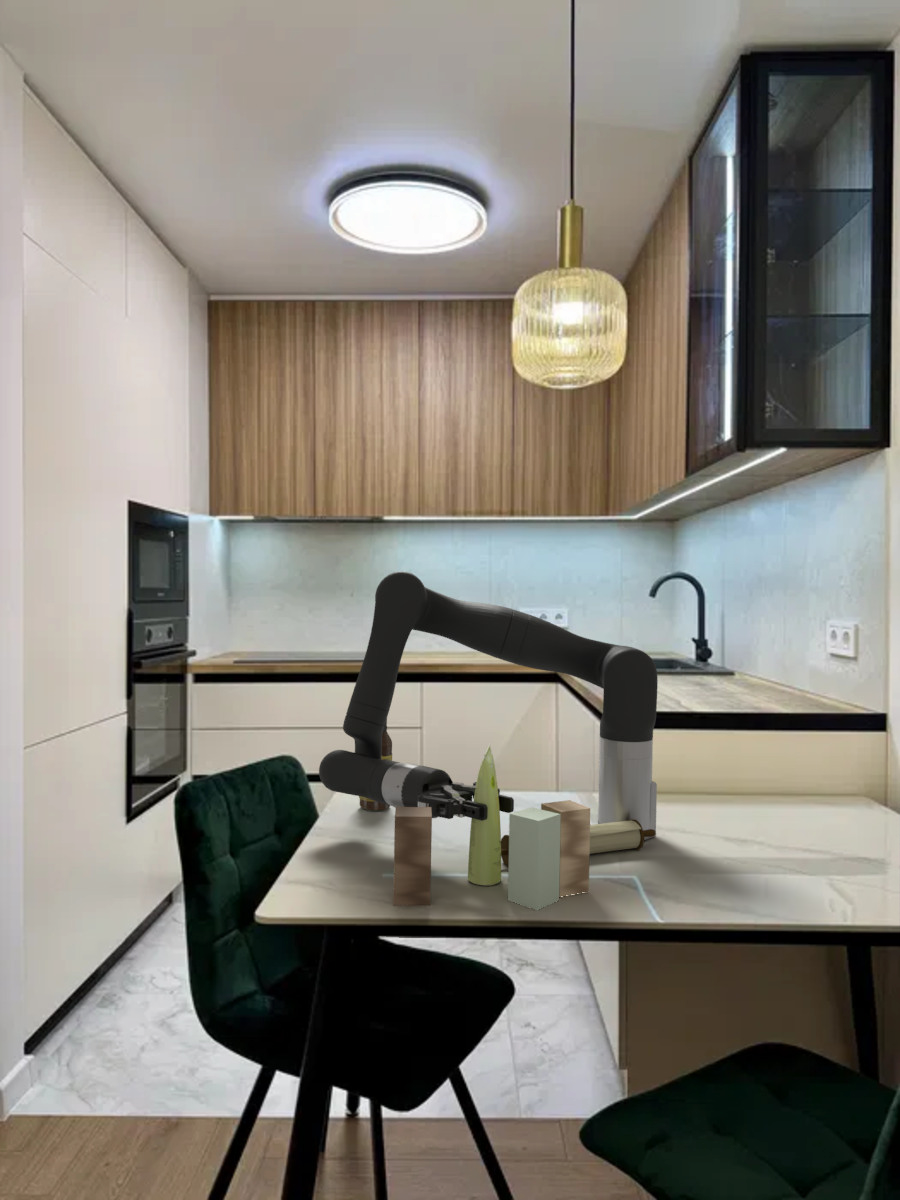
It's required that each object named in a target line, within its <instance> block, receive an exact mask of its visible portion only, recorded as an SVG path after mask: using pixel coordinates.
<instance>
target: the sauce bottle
mask: <svg viewBox="0 0 900 1200" xmlns="http://www.w3.org/2000/svg"><path fill="white" fill-rule="evenodd" d="M387 724H388V719H387V720H386V723H385V726H384V729H383V733H382V755H381V759H383V760H391V761H393V740H392V737H390V735H389V733H388V725H387ZM358 799H359V806H360V808H361V809H362V810H364V811H365V810H366V811H370V812H383V811H386V810H389V809H390V807H391V806H390V805H386V804H383V803H379V802H376V801H374V800H371V799H368V798H365V797H362V796H358Z"/></svg>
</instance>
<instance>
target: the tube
mask: <svg viewBox="0 0 900 1200" xmlns="http://www.w3.org/2000/svg"><path fill="white" fill-rule="evenodd" d="M483 755H484V757H483V760H482V761H481V764H480V767H479V769H478V774H477V779H476V782H477V783H476V789H475V795H474V799H473V802H477V803H482V804H485V805H487V807H488V815H487V819H486V820H483V821H481V820H477V819H473V818H470V819H471V820H470V831H469V832H470V833H469V850H468V867H467V869H468V870H467V879H468V881H469V882H471V883H472V884H475V885H478V886H495V885H496V884H498V883H500V882H502V881H501V880H502V857H501V839H502V837H501V836H502V835H501V833H502V832H501V813H500V812H501V811H500V809H499V797H498V789H499V788H498V782H497V781H498V779H497V773H496V767H495V766H496V765H495V760H494V755H493V753H492V749H491V744H490V743H488V747H487V748H486V751H485V754H483Z"/></svg>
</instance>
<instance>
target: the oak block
mask: <svg viewBox="0 0 900 1200" xmlns="http://www.w3.org/2000/svg"><path fill="white" fill-rule="evenodd" d="M540 809H541V810H545V811H550V812H554V813H558V814H561V820H560V875H559V897H561V896H566V895H571V894H577V893H582V892H588V891H589V892H590V890H589V889H590V854H589V852H590V825H591V807H588V806H585V805H583V804H580V803H578V802H575V801H573V800H570V799H569V800H568V799H567V800H560V801H553V802H542V803H541V804H540Z"/></svg>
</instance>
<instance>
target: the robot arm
mask: <svg viewBox="0 0 900 1200" xmlns="http://www.w3.org/2000/svg"><path fill="white" fill-rule="evenodd" d="M374 602H375V603H374V611H373V619H372V626H371V632H370V635H369V639H368V644H367V648H366V651H365V655H364V659H363V660H362V663H361V668H360V670H359V673H358V676H357V679H356V681H355V685H354V687H353V691H352V693H351V697H350V700H349V704H348V707H347V709H346V713H345V717H344V719H343V720H344V721H343V724H342V730H343V732H344V733H345V734H346V735H347V736H349V737H351V738H352V739H353V740H354V752H353V751H349V750H346V749H345V750H344V749H335V750H332V751H330V752H329V753H326V755H325V756H324V757H323V758H322V759H321V761H320V764H319V768H318V773H319V774H318V776H319V778H320V781H321V783H322V785H323V786H324V787H325V788H326V789H328V790H330V791H332V792H335V793H341V794H346V795H351V796H356V797H359V796H362V797H365V798H368V799H371V800H374V801H376V802H379V803H383V804H386V805H390V807H392V808H393V807H394V808H395V809H396V807H431V810H432V819H437V818H441V819H442V818H443V819H447V820H451V819H454V817H458V818H465V817H467V818H470V819H472V818H473V819H477V820H481V821H483V820H486V819H487V815H488V807H487V805H485V804H482V803H477V802H474V795H475V789H476V783H477V781H474V782H473V783H472V785H471V784H464V782H458V781H457V782H455V781H454V782H453V780H452V777H450V774H448V773H447V772H446V771H445V770H442V769H438V768H435V767H431V766H430V767H429V766H426V765H425V766H424V765H421V764H417V763H410V762H405V763H404V762H399V761H395V760H392V761H391V760H383V759H381V755H382V733H383V729H384V726H385V723H386V720H387V721H388V717H389V716H388V715H389V714H390V713H389V712H390V708H391V705H392V702H393V698H394V693H395V688H396V684H397V678H398V674H399V669H400V665H401V661H402V657H403V654H404V651H405V648H406V644H407V642H408V640H409V636H410V635H411V632H412V630H413V631H416V632H417V631H418V632H423V633H428V634H431V635H435V636H439V637H443V638H446V639H449V640H451V641H454V642H456V643H458V644H461V645H463V646H465V647H467V648H469V649H471V650H474V651H477V652H479V653H482V654H485V655H488V656H491V657H493V658H495V659H499V660H501V661H505V662H507V663H510V664H511V663H512V664H514V665H518V666H520V667H521V666H522V667H527V668H530V669H536V670H540V671H546V672H554V673H561V674H565V675H568V676H572V677H575V678H578V679H580V680H583V681H585V682H587V683H589V684H592V685H594V686H597V687H599V688H601V689H603V694H602V695H603V698H602V699H603V700H602V703H603V704H602V715H601V719H600V722H599V745H598V746H599V753H598V755H599V756H598V757H599V758H598V759H599V762H598V763H599V765H598V766H599V767H598V804H597V805H598V806H597V807H598V808H597V812H598V813H597V814H598V815H597V817H598V818H597V824H603V823H612V822H621V821H629V820H631V819H633V820H637V821H638V822H639V823H640V824H641V826H642V829H643V831H644V830H648V829H653V830H655V831H656V832H657V805H658V804H657V802H658V800H657V799H658V797H657V796H658V790H657V789H658V786H657V785H658V783H656V781H653V755H654V754H653V750H654V749H653V748H654V747H653V745H654V740H653V739H654V729H655V725H656V721H657V703H658V684H659V683H658V682H659V681H658V671H657V666H656V664H655V661H654V660H653V658H652V657H651V656H650V655H649V654H648V653H646V652H645V651H644V650H641V649H638V648H636V647H632V646H628V645H621V644H620V645H618V644H614V643H609V642H604V641H599V640H595V639H590V638H587V637H584V636H580V635H578V634H575V633H573V632H570V631H568V630H567V629H564V628H563V627H561V626H558V625H557V624H554V623H552V622H549V621H547V620H546V619H542V618H540V617H538V616H535V615H532V614H529V613H526V612H523V611H520V610H517V609H513V608H509V607H505V606H503V605H497V604H490V603H483V602H474V601H466V600H462V599H457V598H454V597H450V596H447V595H445V594H442V593H440V592H437V591H436V590H435V591H434V590H432V589H431V588H429V587H426V586H425V585H424V583H423V582H422V580H421V579H420V577H418V576H417V575H415V574H413V573H412V572H409V571H403V570H402V571H401V570H400V571H399V570H398V571H394V572H392V573H389V574H388V575H386V576H385V577H384V578H383V579H381V581H380V582H379V584H378V585H377V587H376V590H375V597H374ZM500 793H501V789H500V788H498V797H499V809H500V812H503V813H506V814H510V813H514V809H515V800H514V798H513V797H511V796H508V795H503V794H500ZM656 836H657V834H656V835H655V836H654V837H653V838H656ZM651 838H652V837H644V841H647V840H649V839H651Z"/></svg>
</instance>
